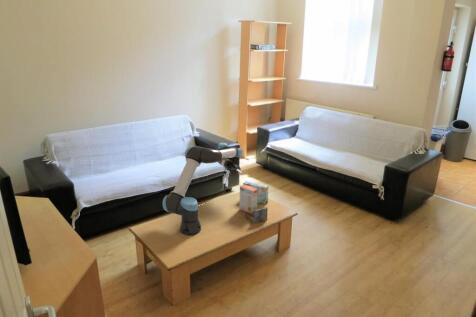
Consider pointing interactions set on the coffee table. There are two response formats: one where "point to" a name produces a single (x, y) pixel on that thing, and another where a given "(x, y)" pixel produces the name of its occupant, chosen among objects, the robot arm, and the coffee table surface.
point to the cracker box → (248, 199)
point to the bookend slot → (257, 215)
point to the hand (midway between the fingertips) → (241, 173)
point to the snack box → (259, 191)
